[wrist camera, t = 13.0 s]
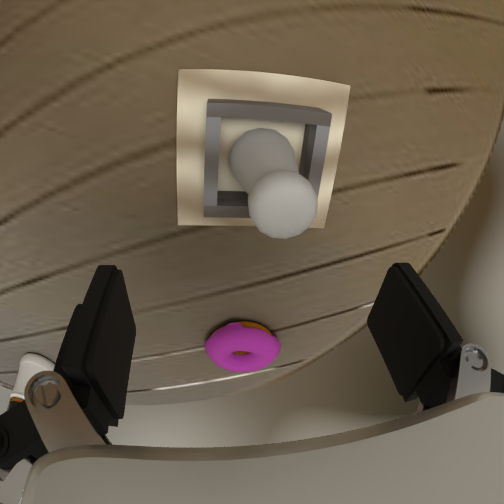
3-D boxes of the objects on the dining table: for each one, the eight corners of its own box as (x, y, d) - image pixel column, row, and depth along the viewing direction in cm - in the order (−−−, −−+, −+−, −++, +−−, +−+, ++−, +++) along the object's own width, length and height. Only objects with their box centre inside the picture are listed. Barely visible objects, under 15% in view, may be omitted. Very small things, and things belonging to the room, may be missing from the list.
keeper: (180, 69, 24) (173, 69, 20) (344, 84, 26) (366, 89, 22) (179, 218, 33) (174, 242, 29) (320, 221, 35) (333, 245, 31)
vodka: (20, 363, 46) (-14, 488, 22) (26, 344, 43) (-16, 487, 18) (57, 383, 51) (32, 510, 26) (67, 367, 47) (38, 512, 23)
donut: (194, 333, 44) (193, 357, 40) (250, 302, 42) (254, 327, 38) (235, 363, 49) (237, 386, 46) (288, 338, 47) (293, 361, 43)
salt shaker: (216, 160, 28) (216, 227, 18) (250, 111, 26) (275, 146, 15) (266, 190, 31) (294, 268, 20) (300, 145, 28) (352, 202, 18)
